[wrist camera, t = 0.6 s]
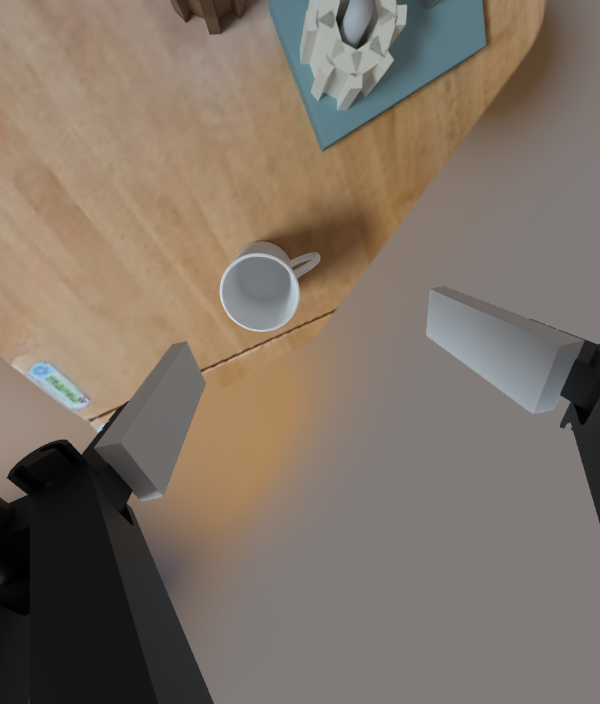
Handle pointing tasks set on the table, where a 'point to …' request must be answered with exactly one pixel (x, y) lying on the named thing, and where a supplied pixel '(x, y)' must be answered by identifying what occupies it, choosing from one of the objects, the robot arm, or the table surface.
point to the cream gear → (348, 48)
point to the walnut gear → (209, 10)
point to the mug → (263, 286)
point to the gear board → (407, 51)
